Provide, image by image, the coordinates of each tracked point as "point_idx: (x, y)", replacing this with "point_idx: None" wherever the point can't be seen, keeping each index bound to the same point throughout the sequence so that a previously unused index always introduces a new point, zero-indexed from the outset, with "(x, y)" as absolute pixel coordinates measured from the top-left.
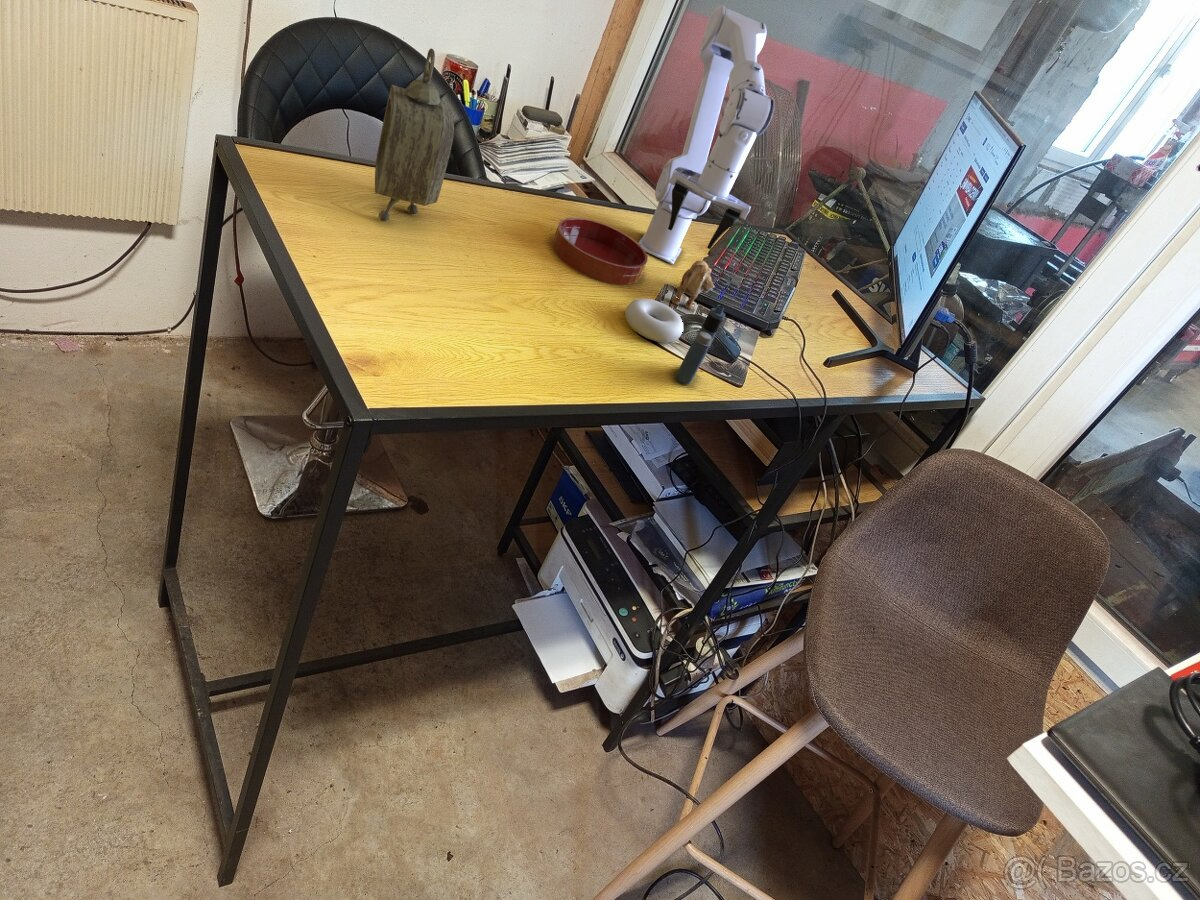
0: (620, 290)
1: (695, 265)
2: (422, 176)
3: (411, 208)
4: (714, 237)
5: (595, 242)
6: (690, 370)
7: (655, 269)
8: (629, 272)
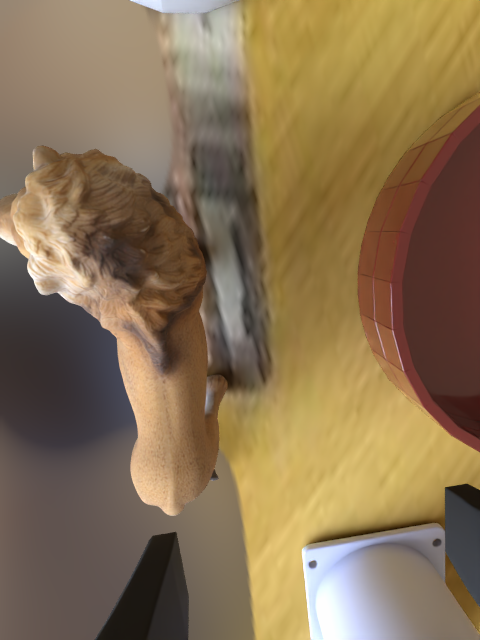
0: (384, 112)
1: (157, 271)
2: None
3: None
4: (139, 609)
5: None
6: None
7: (336, 445)
8: (417, 168)
